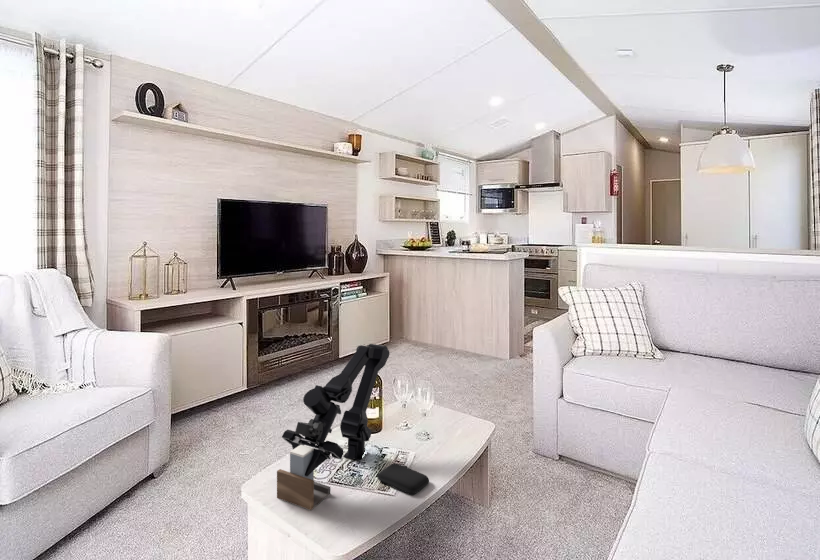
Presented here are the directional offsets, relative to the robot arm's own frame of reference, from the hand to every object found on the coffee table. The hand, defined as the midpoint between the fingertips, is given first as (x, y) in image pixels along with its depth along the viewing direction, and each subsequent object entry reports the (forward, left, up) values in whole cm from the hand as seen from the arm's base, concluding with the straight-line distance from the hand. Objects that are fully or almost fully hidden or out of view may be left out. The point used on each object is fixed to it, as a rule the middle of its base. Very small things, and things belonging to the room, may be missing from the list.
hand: (298, 473), depth 127 cm
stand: (-2, 0, -8) cm, 8 cm away
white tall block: (-1, 0, -7) cm, 7 cm away
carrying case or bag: (-20, +25, -8) cm, 33 cm away
